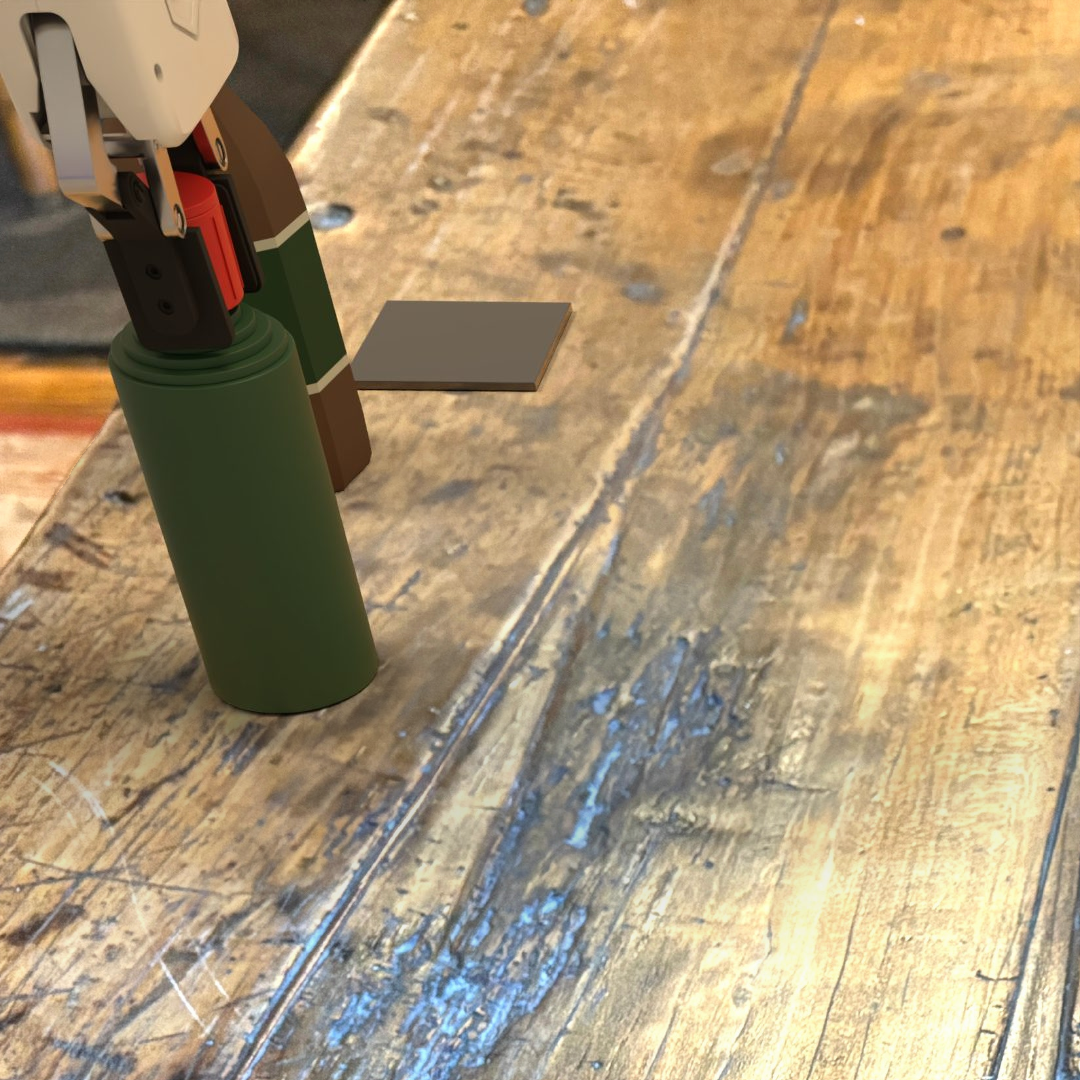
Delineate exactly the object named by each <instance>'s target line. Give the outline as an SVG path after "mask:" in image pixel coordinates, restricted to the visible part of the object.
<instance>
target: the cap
mask: <svg viewBox="0 0 1080 1080" xmlns="http://www.w3.org/2000/svg"><path fill="white" fill-rule="evenodd" d="M173 174H174V177H175V181H176V185H177V188H178V192H179V195H180V199H181V203H182V206H183V210H184V213H185V217H186V222H187V227H196V226H200V229H201V232H202V235H203V238H204V241H205V244H206V247H207V249H208V252H209V255H210V258H211V261H212V264H213V267H214V270H215V273H216V276H217V279H218V282H219V285H220V288H221V291H222V294H223V297H224V300H225V303H226V306H227V309H228V310H230V309H232V308H234V307H235V306H237V305H238V304H239V303H240V302H241V300H242V298H243V295H244V291H243V288H244V284H243V281H242V277H241V273H240V270H239V266H238V262H237V259H236V255H235V251H234V248H233V244H232V240H231V237H230V233H229V229H228V226H227V222H226V218H225V215H224V211H223V207H222V205H220V203H219V200H218V196H217V193H216V189H215V186H214V184H213V183H212V182H211V181H210V180H208V179H207V178H204V177H202V176H199V175H196V174H192V173H186V172H178V171H173ZM136 175H137V176H138V177H139V178H140V180H141V181H142V182H143V183H144V184H145V185H146V186H147V187H148V188H149V186H148V182H147V179H146V175H145V172H144V173H138V174H136Z"/></svg>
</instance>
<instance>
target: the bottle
mask: <svg viewBox="0 0 1080 1080" xmlns="http://www.w3.org/2000/svg"><path fill="white" fill-rule="evenodd" d="M228 312H229V315H230V318H231V321H232V324H233V327H234V330H235V338H234V340H233V342H232V343H231V345H230V346H229V347H227V348H219V349H193V350H166V351H151V350H148V349H146V348H145V347H143V346H142V345H141V344H140V342H139V340H138V337H137V334H136V331H135V329H134V326H133V323H132V321H131V320H129V321H128V322H127V323H126V324H125V325H124V327H123V328H122V329H121V330H120V331H119V332H118V333H116V334H115V336H114V337H113V339H112V340H111V344H110V350H109V352H108V356H107V365H108V368H109V372H110V375H111V378H112V381H113V385H114V387H115V391H116V394H117V397H118V401H119V403H120V406H121V409H122V412H123V415H124V418H125V422H126V425H127V428H128V432H129V435H130V438H131V441H132V444H133V447H134V449H135V452H136V456H137V460H138V462H139V466H140V468H141V473H142V475H143V478H144V481H145V484H146V487H147V491H148V494H149V497H150V500H151V503H152V507H153V509H154V513H155V515H156V519H157V522H158V524H159V527H160V531H161V535H162V537H163V540H164V543H165V547H166V550H167V553H168V556H169V560H170V562H171V565H172V568H173V571H174V575H175V578H176V580H177V583H178V588H179V591H180V593H181V596H182V600H183V604H184V606H185V610H186V613H187V616H188V619H189V621H190V624H191V628H192V630H193V634H194V638H195V640H196V644H197V647H198V650H199V652H200V656H201V660H202V661H203V666H204V669H205V671H206V675H207V678H208V681H209V684H210V687H211V689H212V691H213V692H214V693H215V695H216V696H217V697H218V698H220V699H221V700H222V701H224V702H225V703H227V704H229V705H231V706H233V707H236V708H239V709H242V710H246V711H251V712H256V713H265V714H291V713H293V714H294V713H301V712H309V711H313V710H318V709H322V708H325V707H328V706H332V705H334V704H337V703H340V702H342V701H344V700H347V699H349V698H351V697H353V696H354V695H356V694H357V693H359V692H361V691H362V690H363V689H365V688H366V687H367V686H368V685H370V683H371V682H372V681H373V680H374V678H375V677H376V675H377V673H378V670H379V665H380V661H379V656H378V652H377V647H376V644H375V640H374V637H373V633H372V629H371V625H370V622H369V617H368V614H367V610H366V607H365V603H364V599H363V594H362V591H361V588H360V584H359V580H358V576H357V572H356V568H355V564H354V560H353V558H352V553H351V550H350V545H349V542H348V538H347V534H346V531H345V527H344V523H343V520H342V519H343V518H342V515H341V512H340V508H339V504H338V500H337V497H336V493H335V492H334V489H333V485H332V481H331V477H330V473H329V470H328V466H327V462H326V458H325V455H324V451H323V447H322V443H321V439H320V436H319V432H318V428H317V424H316V420H315V417H314V413H313V409H312V405H311V402H310V398H309V394H308V390H307V386H306V383H305V379H304V375H303V371H302V368H301V364H300V360H299V356H298V352H297V349H296V345H295V341H294V339H293V337H292V335H291V334H290V333H289V332H288V331H287V330H286V329H284V327H283V326H282V324H281V323H280V322H279V321H277V320H276V319H275V318H273V317H271V316H269V315H267V314H265V313H262V312H261V311H259V310H258V309H256V308H253V307H251V306H249V305H247V304H246V303H244V302H242V301H241V302H240V303H239V304H238V305H237V306H235V307H234V308H232V309H230V310H228Z"/></svg>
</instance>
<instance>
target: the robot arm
mask: <svg viewBox="0 0 1080 1080" xmlns="http://www.w3.org/2000/svg"><path fill="white" fill-rule="evenodd" d="M239 43H240V42H239V35H238V32H237V28H236V25H235V21H234V19H233V16H232V12H231V9H230V7H229V4H228V1H227V0H0V75H1V77H2V81H3V83H4V85H5V88H6V90H7V93H8V95H9V97H10V100H11V102H12V104H13V107H14V109H15V111H16V113H17V116H18V117H19V119H20V121H21V124H22V125H23V128H24V130H25V131H26V134H28V136H29V137H30V138H31V139H32V140H33V141H34V142H35V143H37V144H38V145H40V146H41V147H42V148H44V149H46V150H48V151H51V152H52V156H53V163H54V167H55V169H54V170H55V175H56V179H57V183H58V186H59V190H60V191H61V192H62V194H63V196H64V197H65V198H67V199H69V200H71V201H73V202H75V203H77V204H79V205H81V206H82V207H83V208H84V209H85V210H86V211H87V212H88V216H89V219H90V223H91V226H92V228H93V231H94V234H95V235H96V238H98V240H99V241H101V242H102V243H103V246H104V249H105V252H106V255H107V257H108V260H109V263H110V266H111V269H112V271H113V274H114V277H115V279H116V282H117V285H118V288H119V290H120V293H121V296H122V298H123V301H124V305H125V307H126V310H127V312H128V315H129V318H130V321H132V323H133V326H134V329H135V331H136V334H137V337H138V340H139V342H140V344H141V345H142V346H143V347H145V348H146V349H148V350H151V351H166V350H193V349H219V348H227V347H229V346H230V345H231V343H232V342H233V340H234V338H235V330H234V327H233V324H232V321H231V318H230V315H229V312H228V309H227V306H226V303H225V300H224V297H223V294H222V291H221V288H220V285H219V282H218V279H217V276H216V273H215V270H214V267H213V264H212V261H211V258H210V255H209V252H208V249H207V247H206V244H205V241H204V238H203V235H202V232H201V229H200V226H196V227H187V222H186V217H185V213H184V210H183V206H182V203H181V199H180V195H179V192H178V188H177V185H176V181H175V177H174V174H173V171H178V172H186V173H192V174H196V175H199V176H202V177H204V178H207V179H208V180H210V181H211V182H212V183H213V184H214V186H215V189H216V193H217V196H218V200H219V203H220V205H222V207H223V211H224V215H225V218H226V222H227V226H228V229H229V233H230V237H231V240H232V244H233V248H234V251H235V255H236V259H237V262H238V266H239V270H240V273H241V277H242V281H243V284H244V288H243V291H244V293H256V292H258V291H260V289H261V287H262V286H263V284H264V281H265V278H264V274H263V271H262V268H261V264H260V261H259V258H258V255H257V252H256V249H255V246H254V243H253V240H252V237H251V234H250V230H249V227H248V224H247V221H246V218H245V215H244V212H243V209H242V206H241V203H240V200H239V196H238V193H237V190H236V187H235V184H234V181H233V178H232V175H231V174H215V172H214V171H226V170H227V166H228V158H227V152H226V148H225V145H224V142H223V139H222V137H221V134H220V132H219V129H218V127H217V124H216V121H215V119H214V116H213V114H212V111H211V109H210V105H211V103H212V102H213V100H214V98H215V97H216V95H217V94H218V92H219V91H220V89H221V87H222V86H223V84H224V83H225V82H226V81H227V79H228V78H229V76H230V74H231V72H232V71H233V69H234V67H235V65H236V63H237V61H238V57H239V51H240V50H239V49H240V44H239ZM105 118H118V119H119V120H120V122H121V123H122V124H123V125H124V127H125V130H126V132H127V133H114V134H102V122H101V119H105ZM122 158H138V161H139V163H140V165H141V167H142V169H143V170H144V172H145V175H146V179H147V182H148V186H149V188H148V187H147V186H146V185H145V184H144V183H143V182H142V181H141V180H140V178H139V177H138V176H137V175H136V174H135V173H134V172H132V171H125V172H121V171H119V170H117V166H115V165H113V164H112V163H111V162H110V160H109V159H122Z"/></svg>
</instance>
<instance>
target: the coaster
mask: <svg viewBox="0 0 1080 1080" xmlns="http://www.w3.org/2000/svg"><path fill="white" fill-rule="evenodd" d="M572 312H573V305H572V303H571V302H564V301H563V302H562V301H561V302H560V301H559V302H558V301H483V300H482V301H479V300H477V301H476V300H474V301H471V300H398V299H397V300H394V299H393V300H392V299H391V300H389V299H387V300H386V301H385V302H384V304H383V306H382V308H381V309H380V311H379V312H378V314H377V316H376V318H375V320H374V322H373V324H372V325H371V327H370V328H369V330H368V332H367V334H366V335H365V337H364V339H363V340H362V343H361V344H360V345H359V348H358V349H357V351H356V353H355V355H354V357H353V358H352V360H351V361H350V366H351V370H352V373H353V377H354V380H355V384H356V388H357V390H428V391H429V390H431V391H432V390H436V391H442V390H445V391H456V390H457V391H458V390H459V391H527V392H528V391H531V392H533V391H534V392H535V391H538V388H539V385H540V383H541V381H542V379H543V376H544V375H545V372H546V370H547V367H548V365H549V363H550V361H551V358H552V356H553V354H554V352H555V350H556V347H557V345H558V343H559V341H560V339H561V336H562V334H563V332H564V330H565V327H566V325H567V324H568V321H569V318H570V317H571V314H572Z"/></svg>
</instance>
